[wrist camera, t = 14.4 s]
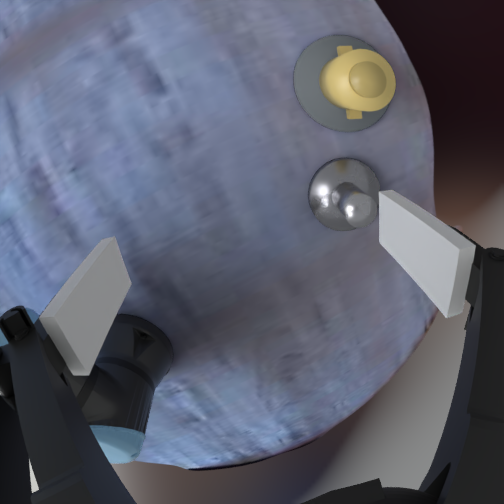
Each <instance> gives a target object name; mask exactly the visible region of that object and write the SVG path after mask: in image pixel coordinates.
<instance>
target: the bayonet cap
mask: <svg viewBox="0 0 504 504" xmlns="http://www.w3.org/2000/svg"><path fill="white" fill-rule="evenodd" d="M337 53H338V57H336V58H333V59H331V60H330V61H328V62H327V63H326V64H325V65H324V66H323V68H322V70H321V72H320V76H319V85H320V89H321V91H322V93H323V95H324V97H325V98H326V99H327V100H328V101H329V102H330V103H331V104H333V105H335V106H336V107H339V108H342V109H346V114H347V119H362V111H376V110H379V109H382V108H383V107H385V106H386V105H387V104H388V103H389V102H390V101H391V99H392V97H393V95H394V92H395V87H396V81H395V75H394V72H393V70H392V68H391V66H390V65H389V63H388V62H387V61H386V60H385V59H384V58H383V57H382V56H381V55H379V54H378V53H376V52H374V51H371V50H367V49H356V50H353V49H352V46H338V47H337Z"/></svg>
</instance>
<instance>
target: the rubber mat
mask: <svg viewBox="0 0 504 504" xmlns="http://www.w3.org/2000/svg"><path fill="white" fill-rule="evenodd" d="M338 46H352V49H353V50H356V49H367V50H371V51H374V52H376V51H375V50H374V49H373V48H372V47H371V46H369V45H368V44H366V43H365V42H363V41H361V40H359V39H356V38H353V37H350V36H344V35H333V36H327V37H324V38H321V39H319V40H317V41H315V42H313V43H312V44H311V45H309V46H308V47H307V48H306V49H305V50H304V51H303V52H302V54H301V55H300V57H299V58H298V60H297V63H296V66H295V69H294V77H293V82H294V89H295V93H296V96H297V99H298V101H299V103H300V105H301V106H302V108H303V109H304V110H305V112H306V113H307V114H308V115H309V116H310V117H311V118H312V119H313V120H315V121H316V122H318V123H319V124H321V125H323V126H325V127H327V128H330V129H333V130H337V131H342V132H354V131H359V130H363V129H365V128H368V127H370V126H371V125H373V124H374V123H376V122H377V121H378V120H379V119H380V118H381V117H382V116H383V114H384V113H385V111H386V109H387V107H388V105H389V103H388V104H387V105H386V106H385V107H383V108H382V109H379V110H376V111H362V119H347V114H346V109H342V108H339V107H336V106H335V105H333V104H331V103H330V102H329V101H328V100H327V99H326V98H325V97H324V95H323V93H322V91H321V89H320V85H319V76H320V72H321V70H322V68H323V66H324V65H325V64H326V63H327V62H328V61H330V60H331V59H333V58H336V57H338V53H337V47H338ZM376 53H377V52H376Z"/></svg>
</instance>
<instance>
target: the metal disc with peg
mask: <svg viewBox="0 0 504 504" xmlns="http://www.w3.org/2000/svg"><path fill="white" fill-rule="evenodd" d="M379 191H380V185H379V182H378V179H377V177H376V175H375V174H374V172H373V171H372V170H371V169H370V168H369V167H368V166H366V165H365V164H363V163H361V162H360V161H358V160H355V159H351V158H338V159H334V160H331V161H329V162H327V163H326V164H324V165H323V166H322V167H320V168H319V170H318V171H317V172H316V173H315V175H314V176H313V178H312V180H311V182H310V186H309V191H308V199H309V204H310V207H311V210H312V212H313V213H314V215H315V216H316V218H317V219H318V220H319V222H321V223H322V224H323V225H324V226H326V227H328V228H330V229H333V230H337V231H349V230H353V229H356V228H362V227H366V226H368V225H369V224H371V223H372V222H373V221H374V219H375V217H376V214H377V207H378V205H379Z"/></svg>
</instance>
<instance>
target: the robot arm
mask: <svg viewBox="0 0 504 504" xmlns="http://www.w3.org/2000/svg"><path fill="white" fill-rule="evenodd" d="M379 243H380V244H381V245H382V246H383V247H384V248H385V249H386V250H387V251H388V252H389V253H390V254H391V256H392V257H393V258H394V259H395V260H396V261H397V262H398V263H399V264H400V265H401V266H402V267H403V269H404V270H405V271H406V272H407V273H408V274H409V275H410V276H411V277H412V279H413V280H414V281H415V282H416V283H417V284H418V285H419V287H420V288H421V289H422V290H423V291H424V292H425V293H426V295H427V296H428V297H429V298H430V299H431V300H432V302H433V303H434V304H435V305H436V306H437V308H438V309H439V310H440V311H441V312H442V313H443V315H444V316H445V317H446V318H449V317H452V316H455V315H457V314H461V313H462V311H463V307H464V303H465V299H466V300H467V301H468V302H469V303H470V304H471V307H470V311H469V314H468V318H467V321H466V325H465V328H464V329H465V330H466V337H465V343H464V349H463V354H462V360H461V365H460V370H459V374H458V379H457V383H456V387H455V392H454V396H453V399H452V403H451V407H450V410H449V414H448V417H447V421H446V424H445V427H444V430H443V434H442V437H441V440H440V442H439V445H438V448H437V451H436V454H435V457H434V459H433V462H432V465H431V467H430V469H429V472H428V473H427V475H426V477H425V479H424V480H423V482H422V484H421V486H420V488H419V490H414V489H408V488H400V487H396V488H395V487H385V488H382V486H381V482H380V480H379V478H378V479H375V480H371V481H368V482H365V483H361V484H357V485H353V486H350V487H345V488H341V489H337V490H333V491H330V492H327V493H325V494H323V495H321V496H318V497H316V498H314V499H311V500H309V501H306V502H304V503H301V504H504V250H503V249H499V248H487V249H484V248H483V247H481V246H480V245H478V244H477V243H476V242H475V241H473V240H472V239H469V237H467V236H466V235H465V234H463V233H462V232H460V231H459V230H458V229H456V228H454V227H451V226H449V225H446V224H445V223H443V222H442V221H440V220H439V219H437V218H436V217H434V216H433V215H431V214H430V213H428V212H427V211H425V210H424V209H422V208H421V207H419V206H418V205H416V204H414V203H413V202H411V201H410V200H408V199H406V198H405V197H403V196H402V195H400V194H398V193H397V192H395V191H393V190H387V191H379ZM131 284H132V283H131V281H130V278H129V275H128V273H127V270H126V267H125V264H124V262H123V259H122V256H121V253H120V250H119V247H118V244H117V241H116V238H115V237H110V238H105V239H102V240H101V241H100V242H99V243H98V244H97V246H96V247H95V248H94V249H93V250H92V251H91V253H90V254H89V255H88V256H87V257H86V258H85V260H84V261H83V262H82V263H81V264H80V266H79V267H78V268H77V269H76V270H75V272H74V273H73V274H72V275H71V276H70V278H69V279H68V280H67V281H66V283H65V284H64V285H63V287H62V288H61V289H60V290H59V292H58V293H57V294H56V295H55V296H54V297H53V299H52V300H51V301H50V303H49V304H48V305H47V307H46V308H45V310H44V311H43V312H42V313H41V315H38V314H37V313H36V312H35V311H34V310H32V309H30V308H24V306H16V307H14V308H11V309H10V310H8V311H7V312H5V313H4V314H3V315H2V316H1V317H0V504H136V502H135V501H134V499H133V498H132V496H131V495H130V494H129V492H128V491H127V489H126V488H125V486H124V485H123V483H122V482H121V480H120V479H119V477H118V475H117V474H116V472H115V471H114V469H113V467H112V466H111V464H110V463H128V462H131V461H133V460H135V459H136V458H137V457H138V456H139V454H140V451H141V448H142V445H143V442H144V440H145V432H146V427H147V423H148V418H149V413H150V409H151V404H152V400H153V395H154V391H155V389H156V387H157V386H158V385H159V383H160V382H161V380H162V379H163V377H164V376H165V375H166V374H167V373H168V371H169V369H170V367H171V363H172V359H173V349H172V346H171V343H170V341H169V340H168V338H167V337H166V336H165V334H164V333H163V332H162V331H161V330H160V329H158V328H157V327H156V326H154V325H153V324H151V323H149V322H148V321H146V320H143V319H141V318H138V317H135V316H130V315H117V312H118V310H119V308H120V306H121V304H122V302H123V300H124V298H125V296H126V294H127V292H128V290H129V288H130V286H131ZM29 459H30V462H31V465H32V469H33V472H34V475H35V478H36V481H37V484H38V487H39V490H38V491H36V492H34V493H32V491H31V482H30V469H29Z"/></svg>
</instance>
